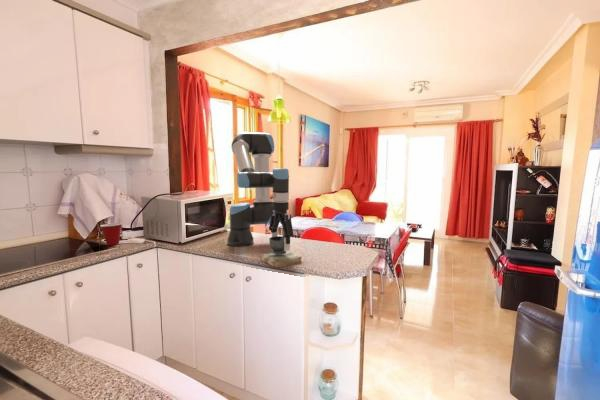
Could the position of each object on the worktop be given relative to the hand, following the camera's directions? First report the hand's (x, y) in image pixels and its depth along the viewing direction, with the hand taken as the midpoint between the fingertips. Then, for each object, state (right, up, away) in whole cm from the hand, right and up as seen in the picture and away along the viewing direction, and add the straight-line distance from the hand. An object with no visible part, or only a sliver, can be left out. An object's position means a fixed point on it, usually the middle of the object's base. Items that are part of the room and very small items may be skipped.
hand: (280, 248), depth 139 cm
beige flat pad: (0, -6, +1) cm, 6 cm away
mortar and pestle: (0, -2, 0) cm, 2 cm away
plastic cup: (-98, -3, +28) cm, 102 cm away
